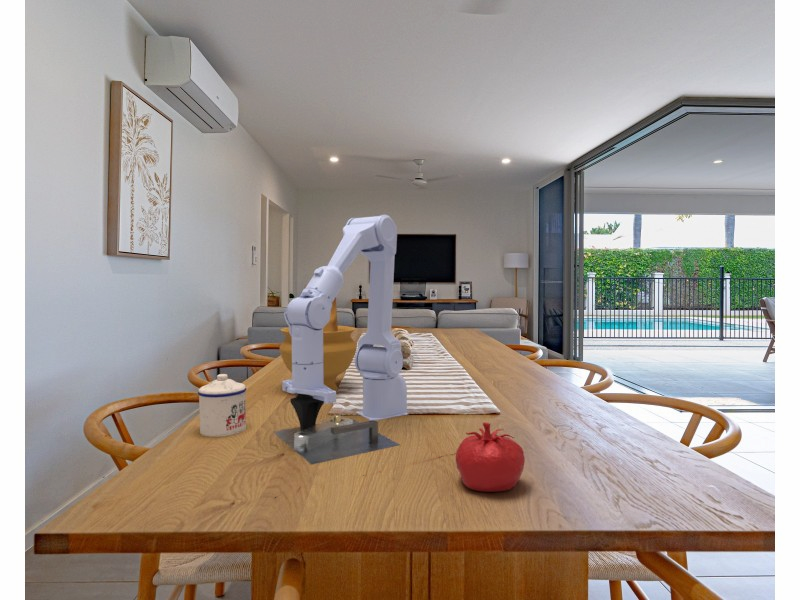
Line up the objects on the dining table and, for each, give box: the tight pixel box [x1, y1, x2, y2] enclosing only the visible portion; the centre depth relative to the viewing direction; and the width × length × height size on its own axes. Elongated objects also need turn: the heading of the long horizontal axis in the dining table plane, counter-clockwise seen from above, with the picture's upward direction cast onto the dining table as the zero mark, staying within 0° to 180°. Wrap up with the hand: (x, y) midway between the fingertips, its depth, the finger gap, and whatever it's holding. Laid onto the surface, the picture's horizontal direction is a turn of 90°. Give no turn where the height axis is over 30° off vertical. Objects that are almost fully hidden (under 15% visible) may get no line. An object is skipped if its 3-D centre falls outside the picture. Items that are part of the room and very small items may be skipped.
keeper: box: [331, 419, 379, 443], centre depth 86 cm, size 9×1×4 cm, turn 122°
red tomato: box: [455, 421, 526, 493], centre depth 71 cm, size 10×10×9 cm
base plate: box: [273, 417, 401, 465], centre depth 91 cm, size 17×20×1 cm
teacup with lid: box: [197, 373, 247, 438], centre depth 97 cm, size 12×9×12 cm
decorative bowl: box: [279, 283, 358, 392], centre depth 133 cm, size 21×21×30 cm
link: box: [293, 416, 354, 453], centre depth 89 cm, size 13×4×3 cm, turn 149°
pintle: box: [332, 413, 342, 423], centre depth 93 cm, size 2×2×4 cm
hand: (308, 434), depth 89 cm, fingers closed, pressing on link
